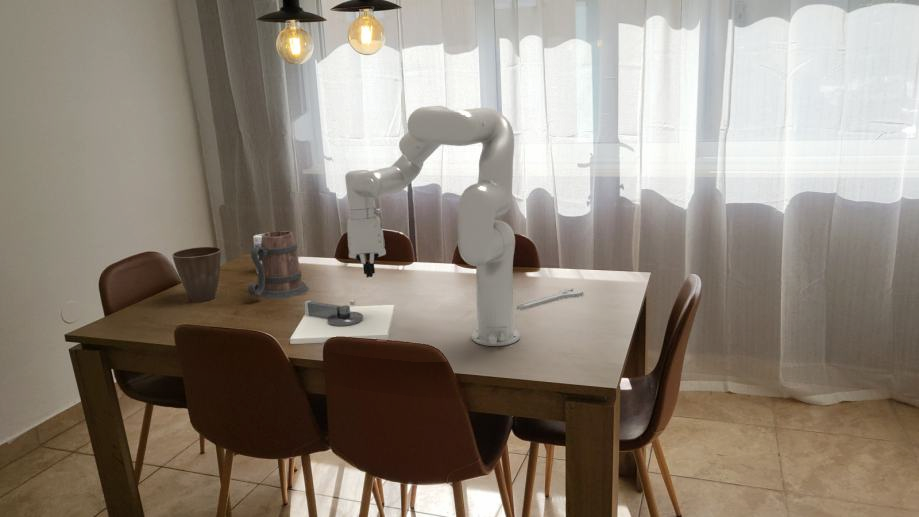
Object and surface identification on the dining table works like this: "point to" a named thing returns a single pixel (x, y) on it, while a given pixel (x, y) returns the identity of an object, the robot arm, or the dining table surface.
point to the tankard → (277, 267)
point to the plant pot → (199, 271)
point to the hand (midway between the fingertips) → (369, 276)
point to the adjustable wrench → (550, 298)
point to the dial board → (370, 327)
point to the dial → (333, 313)
